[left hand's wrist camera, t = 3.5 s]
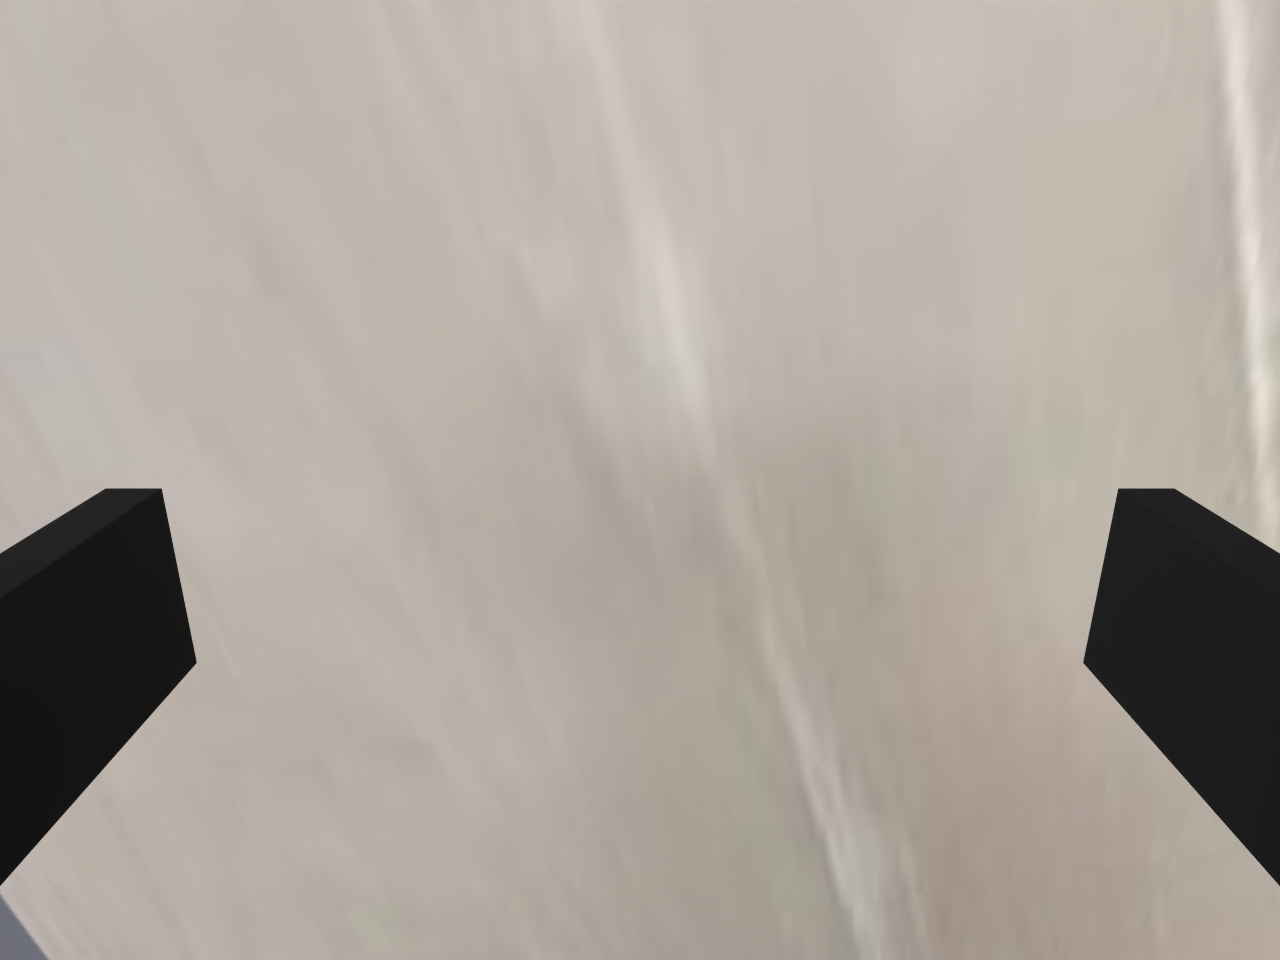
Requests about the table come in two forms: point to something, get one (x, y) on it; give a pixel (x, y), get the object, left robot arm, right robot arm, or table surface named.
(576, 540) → the table surface
